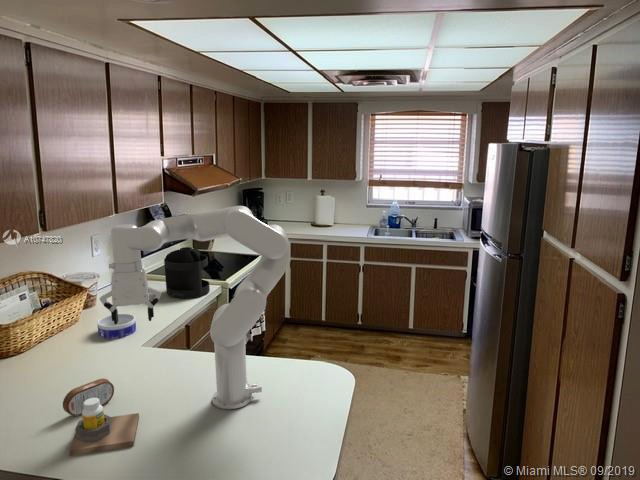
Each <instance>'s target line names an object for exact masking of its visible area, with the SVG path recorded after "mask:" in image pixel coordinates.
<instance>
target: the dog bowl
mask: <svg viewBox="0 0 640 480" xmlns="http://www.w3.org/2000/svg"><path fill="white" fill-rule="evenodd" d="M136 321H137V320H136V316H135V315H134V314H131V313H118V323H117V324H114V321H112V316H111V314H110V315H107V316H104V317H101V318H100V319H98V320H97V321H96V323H97V325H96V326H97V331H98V337H99V338H101V339H103V338H104V340H117V338H118V339H123V338H127V337H130V336H131V335H133V334H134V333H135V332H137V324H136ZM126 336H127V337H126ZM122 337H123V338H122Z"/></svg>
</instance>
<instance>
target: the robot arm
mask: <svg viewBox="0 0 640 480" xmlns="http://www.w3.org/2000/svg"><path fill="white" fill-rule="evenodd" d="M110 237H111V247H112V256H113V257H112V258H113V262H112V263H109V264H108V269H112V270H113V271H112V272H111V278H110V279H111V280H110V281H111V282H110V285H111V286H110V287H111V288H110V289H111V290H110V291H108V292H106V293H105V294H103V295H101V296H100V297H99V301H100V302H101V304H102V305H103V306H104V308H105V309H107V310H109V312H110V313H111V314H110V315H111V316H112V321H114V324H117V323H118V314H119V313H118V309H117V307H127V306H138V305H145V306H147V319H148V321H149V322H152V319H153V318H154V316H155V312H154V307H155V306H156V304H157V303H158V302H159V300H160V298H161V296H162V291H161V290H158V289H156V288H152V287H150V286H149V282H148V277H147V274H146V273H147V272H146V270H145V269H144V268H143V265H142V252H153V251H157V250H158V249H160V248H161V247H162V246H163V245H164V244H166V243H169V242H175V241H179V240H180V241H181V240H195V241H197V242H207V241H212V240H216V239H221V238H227V237H230V238H231V239H233V240H234V241H236V242H237V243H238V244H241V245H242V246H245V248H247V249H249V250H250V251H252V252H255V253H256V254H258V255H259V256H261V257H260V258H259V260H258V262H257V263H256V264H255V266H253V269H251V271H250V272H249V273H248V274H247V275H246V277H245V278H244V279H243V280H242V281H241V282H240V283H239V284H238V286H237V287H236V289H235V292H234V297H233V298H232V299H231V301H230V302H229V303H224V304H221V305H220V306H219V307H218V308H217V309H216V310H215V312H214V315H213V317H212V319H211V320H212V321H211V325H210V332H209V333H210V338H211V340H212V342H213V343H214V344H213V345H214V360H215V361H214V362H215V365H214V367H215V381H216V383H215V384H216V392H214V393H213V395H212V404H213V405H214V406H215V407H216V408H218V409H221V410H236V409H240V408H242V407H245V406H247V405H248V404H249V403H250V402H251V401H252V400H253V394H255V393H262V392H263V391H262V388H263V387H262V385H259V386H258V385H257V383H253V384H252V383H251V384H250V383H248V380H247V379H248V378H247V357H246V356H247V355H246V335H247V334H248V332H249V331H250V330H251V329H252V327H253V326H254V325H255V324H256V323H257V321H259V319H260V318H261V316H262V315H263V313H264V311H265V309H266V307H267V297H268V295H269V294H270V293H271V291H272V290H273V289H274V288H275V287H276V285H277V283H278V282H279V281H280V279H282V277H283V275H284V274H285V272H286V270H287V268H288V265H289V262H290V257H291V245H290V241H289V240H290V239H289V237H288V235H287V232H286V231H285V230H284V228H283V227H281V226H280V225H278V224H269V225H267V224H266V223H264V222H262V220H261V221H260V220H259V219H258V218H257V217H255V216H254V215H253V212H252V210H251V209H250V208H249V207H247V206H244V205H233V206H228V207H223V208H219V209H213V210H209V211H202V212H201V211H200V212H196V213H189V214H184V215H182V214H181V215H176V216H170V217H165V218H159V219H155V220H151V221H150V222H148V223H146V224H145V225H143V226H137V225H136V224H129V223H128V224H127V223H126V224H117V225H114V226H113V227H112V228H111V229H110ZM141 251H142V252H141ZM150 294H152V295H155V296H154V298H153V299H151V298H150ZM109 298H111V302H112V303H111V302H109V301H108V300H107V299H109Z"/></svg>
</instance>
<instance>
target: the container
mask: <svg viewBox="0 0 640 480" xmlns="http://www.w3.org/2000/svg"><path fill="white" fill-rule="evenodd" d="M163 264H164V276H165V288H166V289H165V290H166V294H167V295H168V296H169V297H172V298H175V299H194V298H198V297H201V296H204V295H206V294H208V293H209V292H210V291H211V290H210V289H211V288H210V287H211V286H210V281H208V280H206V279H203V273H202V272H203V271H202V269H203V268H206V267H207V266H208V265H209V259H208V256H207V255H205V254H201V251H200V250H199V249H198V248H192V247H190V246H185V247H180V248H179V249H175V250H173V251H171V252H169V253H167V255H166V256H165V258H164V259H163Z"/></svg>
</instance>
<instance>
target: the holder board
mask: <svg viewBox="0 0 640 480" xmlns="http://www.w3.org/2000/svg"><path fill="white" fill-rule="evenodd" d="M139 420H140V413H138V412H137V413H129V414H123V415H117V416H109V415H107V414H105V413H104V421H105V424H104V425H102V426H100V427H99V428H97V429H91V430H84V425H83V418H82V419H81V420H79V421H77V424H76V426H75V435H74V437H73V439H72V443H70V447H69V450H68V451H69V452H68V454H69V457H70V456H77V455H83V454H89V453H90V454H92V453H96V452H101V451H103V452H104V451H108V450H115V449H122V448H128V447H135V440H136V436H137V431H138V426H139Z"/></svg>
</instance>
